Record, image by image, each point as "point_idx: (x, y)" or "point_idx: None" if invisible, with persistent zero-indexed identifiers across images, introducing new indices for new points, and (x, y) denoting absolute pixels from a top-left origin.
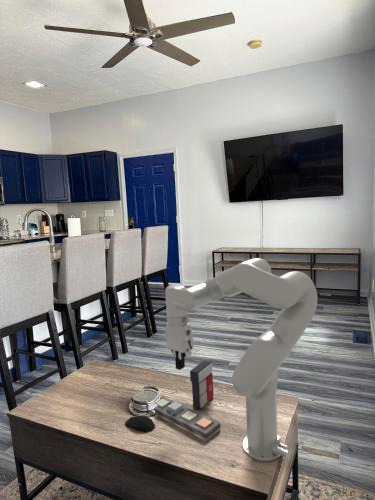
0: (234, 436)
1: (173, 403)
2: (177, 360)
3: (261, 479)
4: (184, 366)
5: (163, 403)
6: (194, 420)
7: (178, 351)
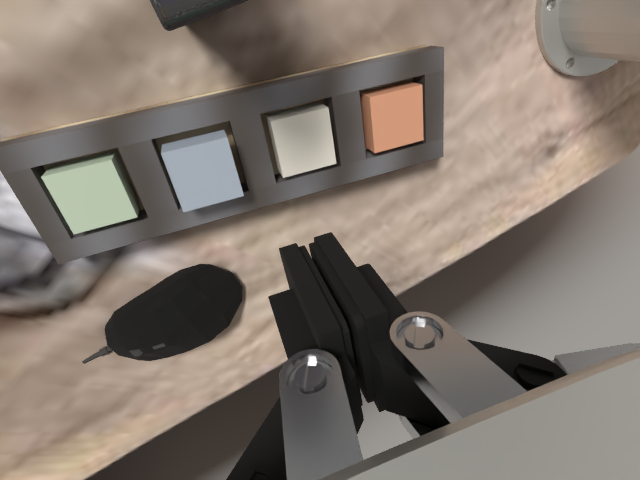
0: (493, 32)
1: (178, 171)
2: (373, 398)
3: (632, 123)
4: (331, 238)
5: (109, 197)
6: (344, 138)
7: (327, 444)
